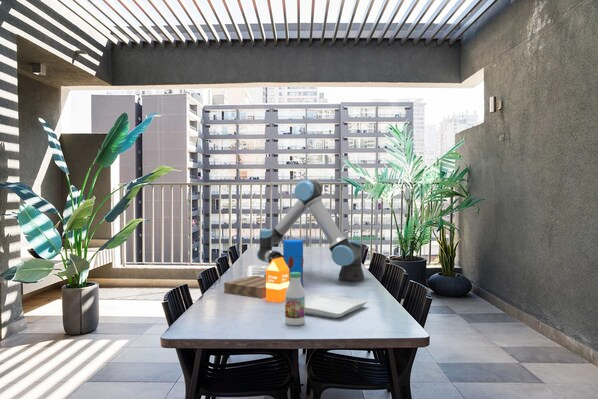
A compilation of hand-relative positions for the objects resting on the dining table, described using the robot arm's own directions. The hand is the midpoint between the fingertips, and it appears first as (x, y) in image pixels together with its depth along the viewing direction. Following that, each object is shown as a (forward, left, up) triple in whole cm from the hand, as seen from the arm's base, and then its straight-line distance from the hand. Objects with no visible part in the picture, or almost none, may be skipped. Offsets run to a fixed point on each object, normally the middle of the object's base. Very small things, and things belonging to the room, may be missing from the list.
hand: (292, 262), depth 257 cm
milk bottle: (-40, +59, -14) cm, 72 cm away
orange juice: (-11, +30, -14) cm, 34 cm away
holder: (+39, -17, -14) cm, 45 cm away
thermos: (0, 0, -14) cm, 14 cm away
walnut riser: (+9, +20, -13) cm, 25 cm away
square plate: (-40, +34, -14) cm, 54 cm away
